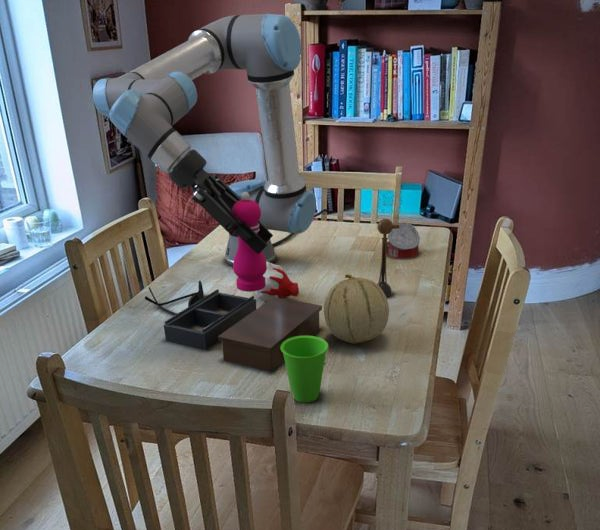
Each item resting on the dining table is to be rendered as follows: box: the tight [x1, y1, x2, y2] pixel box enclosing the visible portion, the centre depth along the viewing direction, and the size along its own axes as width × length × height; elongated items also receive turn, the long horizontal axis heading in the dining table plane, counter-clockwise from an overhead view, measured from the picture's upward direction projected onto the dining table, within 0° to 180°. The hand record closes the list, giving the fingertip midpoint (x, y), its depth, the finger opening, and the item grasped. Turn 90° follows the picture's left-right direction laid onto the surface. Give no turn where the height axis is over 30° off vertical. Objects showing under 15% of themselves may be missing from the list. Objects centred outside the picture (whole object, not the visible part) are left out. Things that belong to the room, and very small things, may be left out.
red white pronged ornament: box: [254, 262, 300, 303], centre depth 165 cm, size 9×11×15 cm
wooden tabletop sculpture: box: [376, 218, 399, 298], centre depth 163 cm, size 6×5×20 cm
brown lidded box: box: [218, 297, 323, 373], centre depth 143 cm, size 24×13×6 cm, turn 152°
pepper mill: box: [232, 192, 267, 293], centre depth 133 cm, size 7×7×20 cm
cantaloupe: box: [323, 273, 390, 345], centre depth 142 cm, size 15×15×15 cm
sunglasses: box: [144, 280, 205, 316], centre depth 163 cm, size 17×14×5 cm
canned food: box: [386, 222, 421, 260], centre depth 195 cm, size 11×10×10 cm
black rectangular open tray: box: [163, 289, 257, 351], centre depth 152 cm, size 22×12×5 cm, turn 152°
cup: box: [280, 335, 329, 403], centre depth 122 cm, size 9×9×11 cm
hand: (265, 244), depth 133 cm, fingers closed on pepper mill, 5 cm apart
